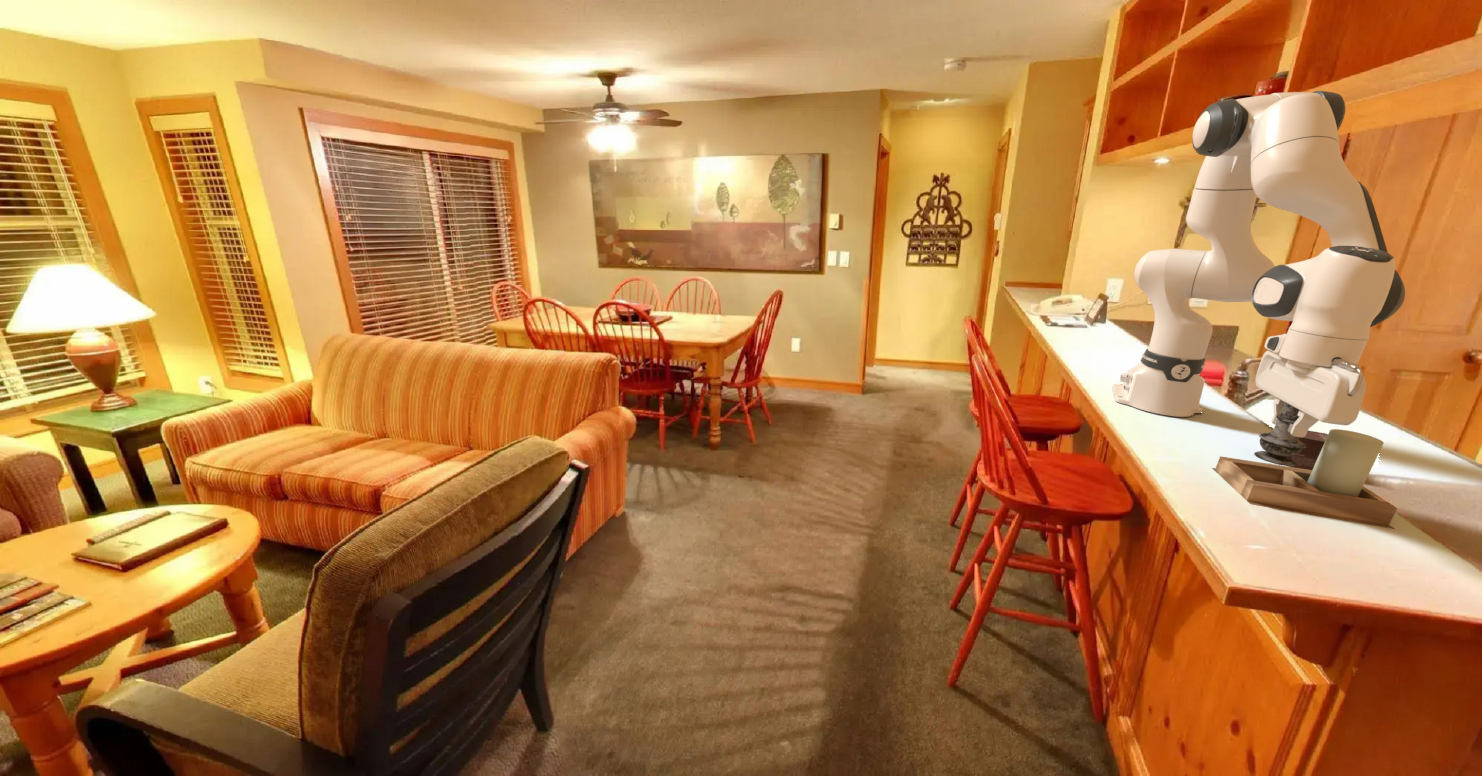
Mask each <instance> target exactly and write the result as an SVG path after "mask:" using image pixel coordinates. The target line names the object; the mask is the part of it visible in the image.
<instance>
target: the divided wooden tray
mask: <svg viewBox="0 0 1482 776" xmlns="http://www.w3.org/2000/svg"><path fill="white" fill-rule="evenodd" d="M1215 466H1216V467H1213V468H1211V469H1212V470H1213V471H1214V472H1215V473H1217V475H1219V476H1220V477H1221V478H1222V479H1223V480H1224V481H1225V482H1226V483H1227V484H1228V485H1229V486H1230V487H1231V488H1233V489H1234V491H1236V492H1237V493H1238V494H1239V495H1240V496H1241V497H1242V498H1243V499H1244V500H1245V501H1246V502H1248V503H1249V504H1250V505H1253V506H1258V507H1259V506H1260V507H1264V508H1265V507H1266V508H1271V509H1276V510H1283V511H1288V512H1294V513H1300V514H1304V515H1305V514H1306V515H1309V516H1310V515H1311V516H1318V517H1323V518H1329V519H1335V520H1340V521H1345V522H1346V521H1347V522H1353V523H1358V524H1364V525H1369V526H1375V527H1381V528H1387V529H1393V530H1396V528H1395V527H1394V526H1392V525H1391V522H1392V520H1393V518H1394V517H1395V515H1396V512H1397V511H1398V507H1396V506H1395V505H1393V504H1392V503H1390V502H1389V501H1387V500H1385V499H1384V498H1382V497H1381V496H1379V495H1378V494H1376V493H1374V492H1373V491H1371V490H1370V489H1369V488H1367V487H1365V486H1364V485H1363V487H1362V489H1361V491H1360V493H1359V495H1358V497H1353V496H1347V495H1341V494H1335V493H1328V492H1322V491H1319V490H1318V489H1316V488H1315V487H1313V486H1312V485H1311V484H1309V483H1308V482H1307V481H1308V479H1309V477H1310V475H1311V472H1312V470H1307V469H1301V468H1294V467H1289V466H1284V465H1278V464H1274V463H1269V462H1268V463H1266V462H1259V461H1252V460H1247V459H1239V458H1233V457H1227V456H1219V459H1218V461H1217V464H1216V465H1215Z"/></svg>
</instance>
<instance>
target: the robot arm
mask: <svg viewBox="0 0 1482 776" xmlns="http://www.w3.org/2000/svg"><path fill="white" fill-rule="evenodd" d="M1345 114H1346V103H1345V100H1344V97H1343V96H1342V95H1341V94H1340V93H1337V92H1332V91H1325V90H1323V91H1322V90H1315V91H1312V92H1307V91H1306V92H1305V91H1303V92H1301V91H1293V92H1292V91H1290V92H1289V91H1288V92H1286V91H1285V92H1274V93H1271V94H1264V95H1255V96H1250V97H1243V98H1237V99H1234V98H1228V99H1223V100H1221V101H1220V100H1219V101H1217V102H1213V103H1211V104H1210V105H1208V106H1207V107H1206V108H1205V109H1204V110H1203V111H1202V112H1201V113H1200V115H1199V116H1198V118H1197V121H1196V122H1195V125H1194V127H1193V130H1192V142H1191V144H1192V147H1193V149H1194V151H1195V152H1196V153H1197V154H1198V155H1201V156H1205V157H1204V160H1203V162H1202V165H1201V167H1200V169H1199V171H1198V175H1197V178H1196V181H1195V184H1194V187H1193V191H1192V194H1191V197H1190V202H1189V205H1188V209H1187V212H1186V216H1185V223H1186V225H1187V227H1188V228H1189V229H1190V230H1191V231H1192V232H1193V233H1196V234H1197V235H1199V236H1201V237H1203V238H1205V239H1207V240H1208V242H1209V243H1210V246H1211V250H1199V249H1198V250H1197V249H1186V248H1185V249H1183V248H1166V249H1165V248H1164V249H1162V248H1161V249H1155V250H1149V251H1148V252H1147V253H1145V254H1144V255H1143V256H1142V257H1141V258H1140V259H1139V260H1138V261H1137V262H1136V264H1135V267H1134V271H1133V277H1134V282H1135V285H1137V287H1138V288H1139V289H1140V290H1141V291H1142V292H1143V293H1144V294H1145V295H1146V296H1147V298H1148V299H1149V301H1150V303H1151V306H1152V308H1153V314H1154V321H1153V322H1154V323H1153V328H1152V329H1153V330H1152V332H1151V338H1150V341H1149V344H1148V348H1146V349H1145V351H1144V352H1143V354H1142V357H1141V359H1140V363H1138V364H1137V365H1135V366H1133V367H1132V368H1131V369H1129V370H1127V372H1126V373H1121V375H1120V378H1119V382H1121V384H1120V383H1119V384H1117V383H1115V384H1112V387H1111V389H1112V393H1113V397H1114V400H1115V402H1117V403H1120V404H1124V405H1128V406H1131V407H1134V408H1136V409H1138V410H1142V411H1145V412H1149V413H1153V414H1157V415H1163V416H1171V417H1176V418H1177V417H1179V418H1180V417H1181V418H1184V417H1186V418H1187V417H1192V416H1194V415H1195V414H1194V413H1201V412H1203V413H1204V408H1203V407H1201V406H1200V402H1201V399H1202V398H1201V397H1202V395H1203V390H1204V387H1205V380H1204V379H1203V378H1202V377H1201V375H1200V374H1201V373H1202V372H1203V369H1204V368H1205V363H1206V358H1205V355H1206V351H1207V349H1208V347H1209V344H1210V341H1211V338H1212V335H1213V325H1212V323H1211V322H1210V321H1209V320H1208V319H1207V318H1206V317H1205V316H1203V315H1202V314H1200V313H1198V312H1196V311H1194V310H1193V309H1192V308H1191V306H1190V301H1189V300H1190V299H1198V300H1207V301H1216V302H1224V303H1250V302H1251V303H1252V306H1253V308H1254V309H1255V311H1256V312H1257V313H1258V314H1259V315H1260V316H1261V317H1264V318H1267V319H1268V318H1269V319H1271V320H1275V321H1287V322H1291V325H1290V326H1289V327H1288V330H1287V332H1286V333H1283V334H1278V335H1271V336H1268V337H1267V338H1266V340H1265V343H1264V348H1265V349H1266V350H1265V352H1264V353H1263V355H1262V357H1261V360H1260V363H1259V366H1258V369H1257V371H1256V373H1255V374H1256V375H1255V379H1254V380H1255V386H1256V387H1257V388H1258V389H1260V390H1261V391H1264V392H1265V393H1267V394H1269V395H1271V396H1273V397H1274V399H1273V403H1272V404H1273V415H1272V418H1271V421H1270V422H1271V423H1272V424H1273V425H1274V426H1275V425H1276V422H1277V420H1278V418H1277V417H1276V416H1278V415H1280V414H1281V412H1282V409H1283V407H1284V404H1285V402H1286V403H1288V404H1289V405H1291V406H1293V407H1295V408H1297V409H1299V412H1298V416H1299V418H1298V419H1297V420H1296V422H1295V423H1290V425H1289V428H1288V429H1287V432H1288V433H1289V434H1291V435H1293V436H1295V437H1305V436H1306V434H1307V432H1308V431H1309V429H1311V427H1313V426H1314V425H1315V424H1316V423H1318V422H1321V423H1324V424H1331V425H1338V426H1350V425H1351V424H1353V423H1354V422H1355V421H1356V420H1357V418H1358V416H1359V413H1360V410H1361V408H1362V404H1363V401H1364V398H1365V396H1366V395H1365V394H1366V390H1367V382H1366V379H1365V375H1364V374H1363V371H1362V367H1361V365H1359V364H1358V363H1359V361H1360V359H1361V357H1362V354H1363V353H1364V351H1365V348H1366V346H1367V344H1368V341H1369V338H1370V331H1371V330H1370V329H1371V328H1372V327H1374V326H1377V325H1378V324H1381V323H1383V322H1385V321H1387V320H1388V319H1389V318H1390V317H1392V316H1393V315H1394V314H1396V313H1397V312H1398V311H1399V310H1400V309H1401V307H1402V306H1403V303H1404V301H1405V298H1406V288H1405V284H1404V281H1403V280H1402V278H1401V276H1400V274H1399V272H1398V271H1397V270H1396V259H1395V256H1393V255H1391V254H1390V253H1389V251H1388V249H1387V245H1386V241H1385V239H1384V235H1383V233H1382V228H1381V226H1380V221H1379V218H1378V215H1377V211H1376V210H1375V209H1376V208H1375V206H1374V203H1373V200H1372V197H1371V194H1370V193H1369V191H1368V190H1367V188H1366V187H1365V185H1363V183H1361V182H1360V181H1359V180H1357V179H1356V178H1355V176H1354V175H1353V174H1352V173H1351V172H1350V170H1349V169H1348V167H1347V166H1346V163H1345V161H1344V159H1343V156H1342V154H1341V153H1342V152H1341V150H1340V148H1341V147H1340V139H1339V130H1340V128H1341V126H1342V124H1343V122H1344V118H1345ZM1257 199H1260V201H1262V202H1263V203H1265V204H1266V205H1268V206H1270V207H1273V208H1276V209H1279V210H1282V211H1285V212H1286V211H1287V212H1289V213H1292V214H1295V215H1298V216H1300V217H1303V218H1305V219H1308V220H1311V221H1312V222H1314V223H1316V224H1317V225H1319V227H1322V228H1323V230H1324V231H1326V233H1327V235H1328V237H1329V240H1330V241H1329V242H1330V244H1331V246H1330V247H1327V248H1325V249H1324V250H1322V251H1321V252H1320V253H1319V254H1318V255H1316V256H1313V257H1311V258H1308V259H1304V260H1301V261H1297V262H1292V263H1288V264H1278V265H1275V264H1274V262H1273V261H1272V260H1271V259H1270V258H1269V257H1268V256H1266V255H1265V254H1263V252H1262V251H1261V250H1260V249H1259V247H1258V245H1257V244H1256V242H1255V241H1254V238H1253V234H1252V220H1253V219H1252V218H1253V213H1254V209H1255V205H1256V201H1257ZM1122 383H1123V384H1122ZM1193 414H1194V415H1193ZM1191 415H1192V416H1191Z"/></svg>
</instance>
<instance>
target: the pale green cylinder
mask: <svg viewBox="0 0 1482 776" xmlns="http://www.w3.org/2000/svg"><path fill="white" fill-rule="evenodd" d="M1327 434H1328V436H1327V438H1326V441H1325V443H1324V445H1323V447H1322V450H1321V452H1320V454H1319V456H1318V459H1317V461H1316V463H1315V465H1314V468H1313V470H1312V472H1311V475H1310V477H1309V479H1308V481H1307V482H1308V483H1309V484H1311V485H1312V486H1313V487H1315V488H1316V489H1318V490H1319V491H1322V492H1328V493H1335V494H1341V495H1347V496H1353V497H1358V495H1359V493H1360V491H1361V489H1362V487H1363V486H1364V485H1365V484H1366V481H1367V478H1368V477H1369V474H1370V473H1371V471H1372V468H1373V466H1374V464H1375V462H1376V460H1377V458H1378V456H1379V454H1380V451H1381V450H1382V447H1383V445H1384V444H1385V443H1384V441H1383V440H1382V439H1379V438H1377V437H1374V436H1371V435H1368V434H1365V433H1361V432H1356V431H1351V430H1348V429H1340V428H1339V429H1338V428H1337V429H1335V428H1334V429H1330V430H1329V432H1328V433H1327Z"/></svg>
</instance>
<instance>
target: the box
mask: <svg viewBox="0 0 1482 776" xmlns="http://www.w3.org/2000/svg"><path fill="white" fill-rule="evenodd" d="M1328 434H1329V433H1325V432H1321V431H1320V432H1319V431H1312V430H1308V432H1307V434H1306V436H1305V437H1298V439H1299V441H1301V442H1303V443H1304V444H1306V448H1302V451H1301V452H1300V453H1299V454H1297V455H1295V456H1291V457H1289V458H1291V459H1292V460H1293V461H1294V462H1295V463H1296V465H1295V466H1288V467H1294V468H1301V469H1307V470H1313V468H1314V465H1315V463H1316V461H1317V459H1318V456H1319V454H1320V452H1321V450H1322V447H1323V445H1324V443H1325V441H1326V438H1327V436H1328Z"/></svg>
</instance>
